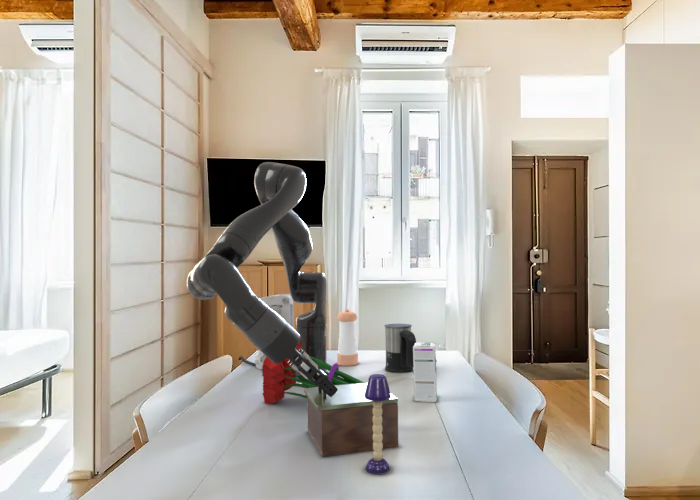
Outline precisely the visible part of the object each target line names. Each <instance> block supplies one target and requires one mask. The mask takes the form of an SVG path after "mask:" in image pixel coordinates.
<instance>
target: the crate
mask: <svg viewBox="0 0 700 500" xmlns="http://www.w3.org/2000/svg"><path fill="white" fill-rule="evenodd" d="M381 407H382V415H381V416H382V436H383V439H382V444H383V448H382V450H387V449H393V448H399V402H398V403H388V404H382V406H381ZM373 416H374V415H373V405H369V406H359V407H350V408H340V409H330V410H321V411H317V409H316V408H315V407H314V405H313V404H312V402H311V401H310V400H309V398H307V434H308V436H309V437H310V439H311V440H312V443H313V444H314V446H315V447H316V449H317V451H318V452H319V454H320V455H321V458H325V457H333V456H342V455H347V454H348V455H349V454H356V453H363V452H371V451H372V452H373V451H374V450H373V442H374V441H373V433H374V432H373Z"/></svg>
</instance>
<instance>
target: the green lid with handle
mask: <svg viewBox="0 0 700 500" xmlns="http://www.w3.org/2000/svg"><path fill="white" fill-rule="evenodd" d="M319 371H320V372H321V373H322V374H324V375H325V377H326V378H327V379H328V380H329V377H328V376H327V375H326V374H325V373H324V372H323V371H322V370H319ZM319 375H320V374H318V373H316V374H315V376H316V377H318V376H319ZM367 384H368V382H364V383H357V384H346V385H335V387H336V388H337V389H338V390H337V392H336V393H335V394H334V395H333V396H332V397H329V396H328V395H327V394H326V393H325V392H324V391H323V390H322V389H321V388H320V387H319V386H318V387H313V388H311V387H304V388H303V393H304V395H306V396H307V397H308V398H309V400H310V401H311V402H312V404H313V405H314V407H315V408H316V409H317V411H321V410H330V409H340V408H350V407H359V406H369V405H373V403H372V402H373V401H371V400H368V399H366V398H365V392H366V388H367ZM390 394H391V398H390V399H389V400H385V401H382V404H388V403H398V404H399V398H398V397H396V396H395V395H394V394H393V393H391V392H390ZM308 398H307V399H308Z"/></svg>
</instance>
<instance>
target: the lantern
mask: <svg viewBox="0 0 700 500" xmlns="http://www.w3.org/2000/svg"><path fill="white" fill-rule="evenodd" d="M259 298H260V299H261V300H262V301H263V302H264V303H265V304H266V305H267V306H268V307H269V308H271V309H272V310H274V311H275V312H276V313H277V314H279V315H280V316H281V317H282V318H283V319H284V320H285V321H286V322H287V323H288V324H289V325H290V326H291V327H292V328H293V329H294V300H293V299H292V297H291V294H290V293H282V294H274V295H268V296H264V297H259ZM265 358H266V355H265V354H264V353H263V352H261V351H260V350H259V349H258V352H256V353H255V354H254V362H253V363H255V364H256V366H255V367H256V369H257V370H262V369H263V368H262V366H263V362H264V360H265Z"/></svg>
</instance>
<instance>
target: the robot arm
mask: <svg viewBox="0 0 700 500" xmlns="http://www.w3.org/2000/svg"><path fill="white" fill-rule="evenodd" d="M306 177H307V176H306V173H305V171H304V169H302V168H300V167H298V166H295V165H291V164H286V163H279V162H274V161H273V162H272V161H266V162H265V161H264V162H262V163H260V164H259V165H258V166H257V168H256V170H255V173H254V189H255V192H256V196H257V198H258V201H259V202H260V205H258V206H256V207H254V208H251V209H249V210H248V211H245V212H244V213H242V214H240V215H239V216H237V217H236V218H235V219H234V220H232V222H230V223H229V224H228V226H227V227H226V228H225V229H224V231H223V232H222V233H221V235H220V236H219V237H218V238H217V240H216V241H215V243H214V244H213V246H212V247H211V249H209V250H208V251H207V253H206V254H205V255H204V256H203V257H201V259H200V260H199V261H198V262H197V263H196V264H195V265H194V267H193V268H192V269H191V270H190V271H189V273H188V275H187V278H186V287H187V290H188V293H190V294H191V296H192V297H193V298H195V299H197V300H200V301H207V300H212V299H214V298H216V297H217V296H218V297H219V298H220V299H221V301H222V303H223V304H225V307H224V309H223V310H224V311H223V312H224V316H225V317H226V318H227V320H229V322H230V323H232V324H233V325H234V326H235V327H236V328H237V329H238V330H239V331H240V332H241V333H242V334H243V335H245V337H246V338H247V339H248V341H249V342H250V343H251V344H252V345H254V346H255V347H256V348H257V349H258V351H259V350H260V351H261V352H263V353H264V354H265V355H266V356H267V357H268V358H269V359H270V360H271V361H272V362H273V363H275V364H277V363H280V362H282V361H283V360H284V359H285V358H288V359H290V360H289V361H288V363H289V364H290V366H291V367H292V368H293V369H294V370H297V371H294V373H295V372H296V373H295V375H298V376H301V377H304V378H305V379H309V380H311V381H312V382H313V383H314V385H315V386H319V387H320V388H321V389H322V390H323V391H324V392H325V393H326V394H327V395H328V396H329V397H332V396H333V395H334V394H335V393H336V392H337V390H338V389H337V388H336V387H335V386H334V385H333V384H332V383H331V382H330V381H329V380H328V379H327V378H326V377H325V375H324V374H322V373H321V372H320V371H319V370H318V368H319V369H321V370H324V371H326V372H328V370H326V369H324V368H322V367H321V366H319V365H316V364H315V363H314V362H313V361H314V360H311V359H310V358H309V356H310V357H313V358H316V359H319V360H321V361H324V362H326V363H327V364H328V362H327V361H328V359H327V357H328V355H327V354H328V353H327V294H328V293H327V292H328V290H327V289H328V281H327V276H326V275H325V273H324V272H320V271H319V272H308V271H307V272H301V269H302V268H303V267H304V266H305V264H306V263H307V262H308V260H309V259H310V257H311V255H312V252H313V242H312V238H311V235H310V234H311V232H310V230H309V228H308V226H307V224H306V223H305V222H304V221H303V220H302V218H300V216H299V215H298V214H297V213H296V212H295V211H294V210H293V208H295V207H296V206H297V205H298V204H299V203H300V201H301V200H302V198H303V196H304V194H305V192H306V189H307V178H306ZM270 230H271V231H272V234H273V236H274V241H275V244H276V248H277V250H278V253H279V256H280V258H281V261H282V264H283V267H284V272H285V274H286V279H287V285H288V290H289V294H291V295H290V296H291V297H292V299H293V302H294V303H298V304H314V307H313V308H312V309H310V310H309V311H307V312H305V313H302V314H300V315H297V316H296V317H295V322H294V323H295V328H294V327H293V328H292V327H291V326H290V325H289V324H288V323H287V322H286V321H285V320H284V319H283V318H282V317H281V316H280V315H279V314H277V313H276V312H275V311H274V310H272V309H271V308H269V307H268V306H267V305H266V304H265V303H264V302H263V301H262V300H261V299H260V298H261V297H259V296H258V295H257V294H256V293H254V291H253V290H252V289H251V287H250V285H249V283H248V282H247V280H246V279H245V277H244V276H243V274H242V273H241V271H240V269H238V268H239V267H240V266H241V265H242V264H243V263H244V262H245V261H246V260H247V259H248V258H249V257H250V255H251V254H252V253H253V251H254V249H256V247H257V245H258V244H259V242H261V240H262V239H263V238H264V237H265V235H266V234H267V233H268V232H269V231H270ZM300 339H301V346H302V348H300V349H299V351H298V350H297V348H296V346H297V345H298V344H299V342H300ZM237 360H238V361H242V362H243V363H245V364H247V365H250V366H253V367H256V364H255V363H254V362H253V361H250V360H247V359H245V358H244V356H243V355H240V356H239V357H238V359H237ZM316 373H318V374H320V375H319V376H318V377H316V376H315V374H316ZM294 377H295V376H294ZM295 378H296V379H300V378H298V377H295ZM303 382H306V381H303ZM306 383H308V382H306ZM295 384H302V383H299V382H297V381H295ZM308 384H310V383H308Z"/></svg>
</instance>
